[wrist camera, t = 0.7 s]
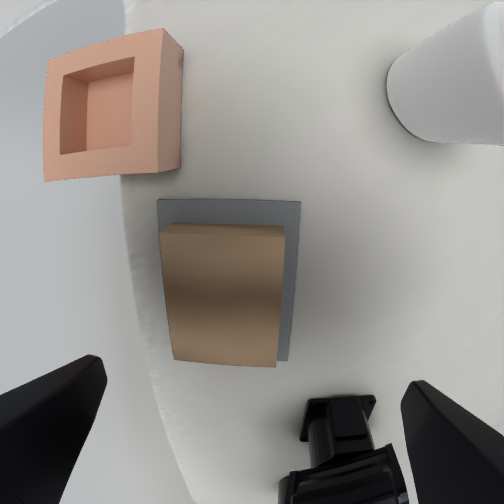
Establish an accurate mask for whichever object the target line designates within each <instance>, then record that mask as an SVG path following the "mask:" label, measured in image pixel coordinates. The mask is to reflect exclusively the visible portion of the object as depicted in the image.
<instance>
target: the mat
mask: <svg viewBox="0 0 504 504" xmlns="http://www.w3.org/2000/svg"><path fill="white" fill-rule="evenodd" d="M300 206H301V202H300V201H277V200H244V199H158V200H157V208H158V226H159V233H161V232H162V231H163V230H164V229H166V228H167V227H168V226H169V225H171V224H172V223H203V224H243V225H273V226H283V228H284V233H285V251H284V268H283V284H282V298H281V312H280V325H279V338H278V350H277V361H287V360H288V351H289V342H290V333H291V323H292V313H293V302H294V291H295V279H296V266H297V253H298V239H299V223H300ZM159 240H160V236H159ZM160 253H161V249H160ZM161 264H162V261H161ZM162 274H163V271H162ZM163 284H164V281H163ZM164 293H165V290H164ZM165 301H166V299H165ZM166 309H167V307H166ZM167 317H168V315H167ZM168 324H169V322H168ZM169 331H170V329H169ZM170 338H171V336H170ZM171 344H172V343H171ZM172 351H173V349H172Z"/></svg>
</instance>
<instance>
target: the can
mask: <svg viewBox="0 0 504 504" xmlns="http://www.w3.org/2000/svg"><path fill="white" fill-rule="evenodd" d="M387 95H388V99H389V103H390V105H391V107H392V109H393V111H394V113H395V115H396V116H397V118H398V119H399V120H400V122H401V123H402V124H403V125H404V127H405V128H406V129H407V130H408V131H410V132H411V133H412V134H413V135H415V136H417V137H418V138H420V139H423V140H426V141H430V142H441V143H468V144H486V145H500V146H504V2H494V3H490V4H488V5H486V6H483V7H481V8H479V9H477V10H475V11H474V12H472V13H470V14H468V15H466V16H464V17H462V18H461V19H459V20H457V21H455V22H454V23H452V24H450V25H448V26H447V27H445V28H443V29H442V30H440V31H438V32H437V33H435V34H433V35H432V36H430V37H428V38H427V39H425V40H424V41H422V42H421V43H419V44H417V45H416V46H414V47H413V48H411V49H410V50H408V51H407V52H405V53H404V54H402V55H401V56H400V57H398V58H397V59H396V60H395V61H394V62H393V64H392V65H391V67H390V69H389V72H388V76H387Z"/></svg>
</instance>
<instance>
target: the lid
mask: <svg viewBox="0 0 504 504" xmlns="http://www.w3.org/2000/svg"><path fill="white" fill-rule="evenodd" d="M159 236H160V249H161V261H162V271H163V281H164V290H165V299H166V307H167V315H168V322H169V329H170V336H171V343H172V349H173V355H174V360H180V361H189V362H199V363H209V364H221V365H235V366H253V367H276V361H277V350H278V338H279V325H280V312H281V298H282V284H283V268H284V251H285V233H284V228H283V226H273V225H243V224H203V223H172V224H171V225H169V226H168V227H167V228H166V229H164V230H163V231H162V232H161V233H159Z"/></svg>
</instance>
